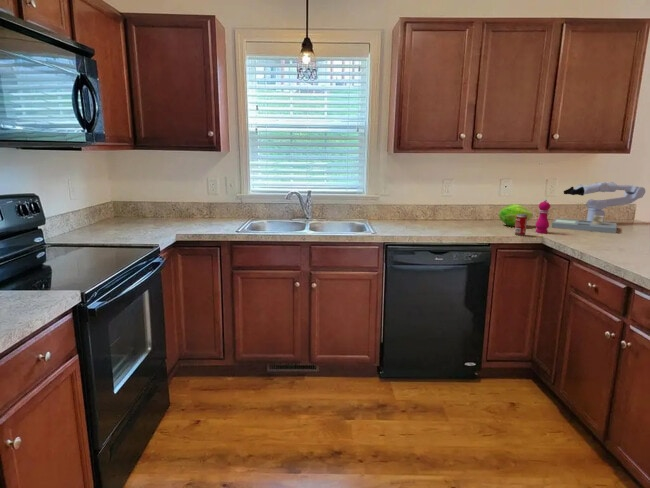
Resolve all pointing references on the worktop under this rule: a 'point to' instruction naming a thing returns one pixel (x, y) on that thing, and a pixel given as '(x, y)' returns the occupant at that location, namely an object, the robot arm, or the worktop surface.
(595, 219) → the maple cube
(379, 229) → the worktop surface
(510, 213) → the lettuce
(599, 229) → the trap deck
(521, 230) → the beverage can
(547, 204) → the pepper mill
